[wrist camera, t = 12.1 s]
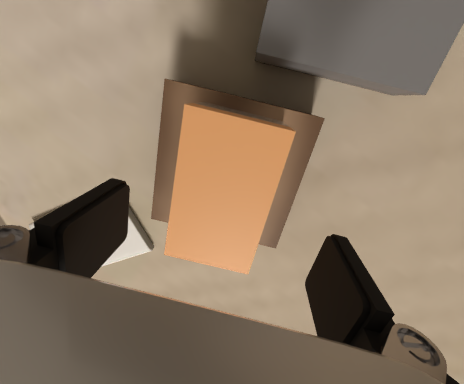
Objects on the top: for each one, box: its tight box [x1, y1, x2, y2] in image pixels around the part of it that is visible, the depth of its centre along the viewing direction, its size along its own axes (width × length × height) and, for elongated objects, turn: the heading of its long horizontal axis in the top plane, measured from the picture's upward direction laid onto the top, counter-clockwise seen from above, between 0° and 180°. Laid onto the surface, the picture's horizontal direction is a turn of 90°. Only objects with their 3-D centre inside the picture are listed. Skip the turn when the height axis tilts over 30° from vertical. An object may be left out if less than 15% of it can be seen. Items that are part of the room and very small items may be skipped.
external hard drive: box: [29, 207, 154, 267], centre depth 27 cm, size 2×8×12 cm
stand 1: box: [151, 79, 324, 248], centre depth 21 cm, size 12×12×4 cm
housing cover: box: [164, 103, 296, 274], centre depth 15 cm, size 10×6×2 cm, turn 167°
